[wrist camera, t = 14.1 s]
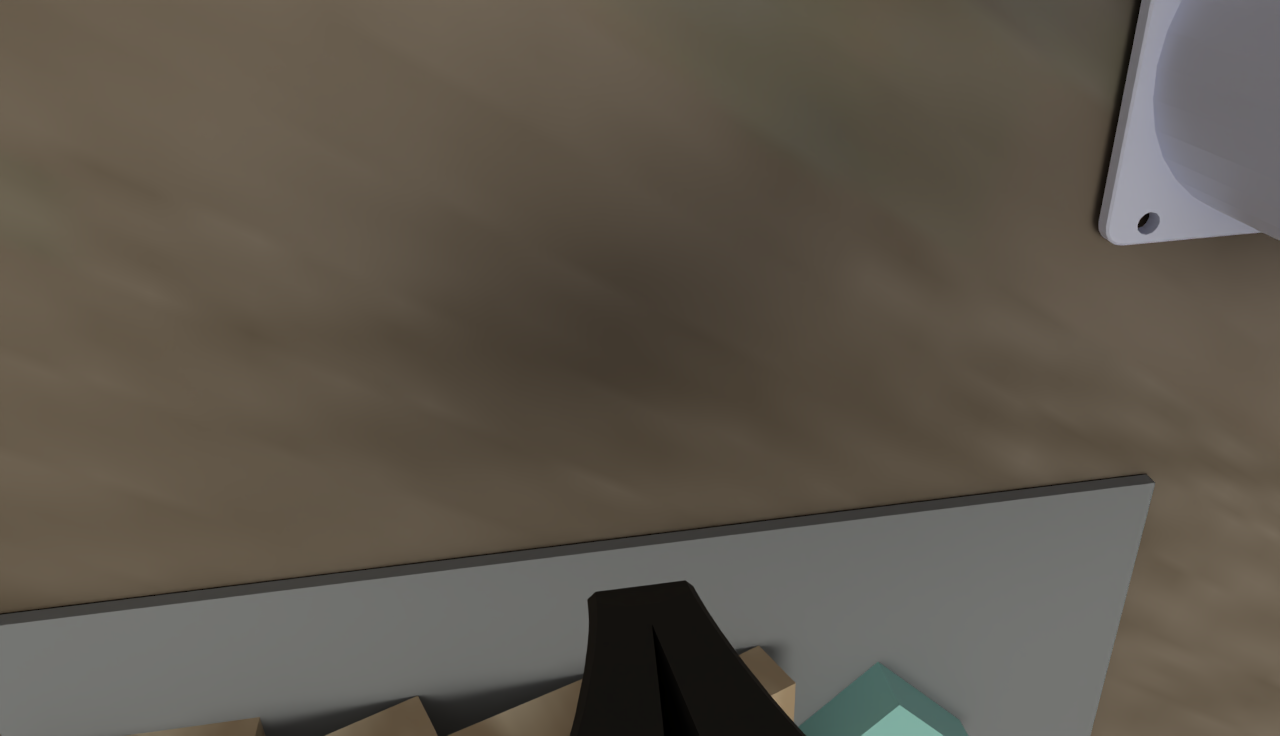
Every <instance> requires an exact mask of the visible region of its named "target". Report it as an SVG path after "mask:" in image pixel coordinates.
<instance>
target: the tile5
mask: <svg viewBox="0 0 1280 736" xmlns="http://www.w3.org/2000/svg"><path fill="white" fill-rule="evenodd" d="M127 736H265V733H264V729H263V726H262V723H261V720H260V717H257V718H250V719H242V720H235V721H228V722H221V723H213V724H206V725H199V726H192V727H184V728H177V729H170V730H163V731H156V732H148V733H141V734H134V735H127Z"/></svg>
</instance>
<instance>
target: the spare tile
mask: <svg viewBox="0 0 1280 736" xmlns="http://www.w3.org/2000/svg"><path fill="white" fill-rule="evenodd" d="M799 728H800V729H801V731H802V732H803V733H804V734H805V735H806V736H968V734H967V732H966V730H965V729H964V727H963V725H962V723H961V721H960V720H959V719H957V718H956V717H955V716H953V715H952V714H950V713H949V712H948V711H946V710H945V709H943V708H942V707H941V706H939V705H938V704H937V703H935V702H934V701H932V700H931V699H930V698H928V697H927V696H925V695H924V694H923V693H921V692H920V691H918V690H917V689H916V688H914V687H913V686H911V685H910V684H909V683H907V682H906V681H904V680H903V679H902V678H900V677H899V676H897V675H896V674H895V673H893V672H892V671H890V670H889V669H888V668H886V667H885V666H884V665H882V664H881V663H879V662H877V663H876V664H875V665H873V666H872V667H871V668H870V669H869V670H867V671H866V672H865V673H864V674H862V675H861V676H860V677H859V678H857V679H856V680H855V681H854V682H853V683H851V684H850V685H849V686H848V687H846V688H845V689H844V690H843V691H842V692H840V693H839V694H838V695H837V696H835V697H834V698H833V699H832V700H831V701H829V702H828V703H827V704H826V705H824V706H823V707H822V708H821V709H820V710H818V711H817V712H816V713H815V714H813V715H812V716H811V717H810V718H809V719H807V720H806V721H805V722H804V723H802V724H801V725H800V726H799Z"/></svg>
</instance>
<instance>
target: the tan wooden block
mask: <svg viewBox="0 0 1280 736" xmlns="http://www.w3.org/2000/svg"><path fill="white" fill-rule="evenodd" d="M581 683H582V679H581V680H579V681H576V682H574V683H571V684H569V685H567V686H564V687H562V688H559V689H557V690H555V691H552V692H550V693H548V694H545V695H543V696H540V697H538V698H536V699H533V700H531V701H529V702H526V703H524V704H521V705H519V706H517V707H514V708H512V709H510V710H507V711H505V712H502V713H500V714H498V715H495V716H493V717H491V718H488V719H486V720H483V721H481V722H479V723H476V724H474V725H471V726H469V727H467V728H464V729H462V730H460V731H457V732H455V733H452V734H450V735H448V736H570V732H571V729H572V725H573V721H574V717H575V713H576V708H577V703H578V698H579V693H580V688H581Z"/></svg>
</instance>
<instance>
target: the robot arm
mask: <svg viewBox="0 0 1280 736" xmlns="http://www.w3.org/2000/svg"><path fill="white" fill-rule="evenodd" d="M1147 213H1149V218H1148V220H1147V222H1146V223H1145V224H1144V225H1143V226H1142V227H1140V228H1138V223H1139V220H1140V218H1142V217H1143V216H1144V215H1145V214H1147ZM1099 232H1100V234H1101V236H1102V237H1104V238H1105V239H1107V240H1108V241H1110V242H1111V243H1113V244H1115V245H1122V246H1123V245H1133V244H1144V243H1155V242H1165V241H1176V240H1187V239H1197V238H1208V237H1218V236H1229V235H1240V234H1250V233H1261V232H1262V233H1264V234H1267V235H1269V236H1271V237H1273V238H1275V239H1277V240H1279V241H1280V0H1142V1H1141V6H1140V11H1139V16H1138V21H1137V27H1136V32H1135V37H1134V42H1133V47H1132V52H1131V57H1130V63H1129V68H1128V73H1127V78H1126V83H1125V88H1124V94H1123V99H1122V104H1121V109H1120V114H1119V119H1118V124H1117V130H1116V135H1115V140H1114V145H1113V150H1112V155H1111V161H1110V166H1109V171H1108V176H1107V181H1106V186H1105V191H1104V197H1103V202H1102V207H1101V212H1100V217H1099ZM587 602H588V615H589V632H588V644H587V652H586V660H585V667H584V673H583V678H582V683H581V688H580V693H579V698H578V703H577V708H576V713H575V717H574V721H573V725H572V729H571V732H570V736H806V735H805V734H804V733H803V732H802V731H801V729H800V728H799V727H798V726H797V725H796V724H795V723H794V722H793V721H792V720H791V718H790V717H789V716H788V715H787V714H786V713H785V712H784V710H783V709H782V708H781V707H780V706H779V705H778V703H777V702H776V701H775V700H774V699H773V698H772V696H771V695H770V694H769V693H768V691H767V690H766V689H765V688H764V686H763V685H762V684H761V683H760V682H759V680H758V679H757V678H756V677H755V675H754V674H753V673H752V672H751V670H750V669H749V668H748V667H747V665H746V664H745V663H744V661H743V660H742V659H741V657H740V656H739V655H738V653H737V652H736V651H735V649H734V648H733V647H732V645H731V644H730V642H729V641H728V640H727V638H726V637H725V635H724V634H723V633H722V631H721V630H720V628H719V627H718V625H717V624H716V622H715V621H714V619H713V618H712V616H711V615H710V613H709V612H708V610H707V609H706V607H705V605H704V604H703V602H702V600H701V599H700V597H699V595H698V594H697V592H696V590H695V588H694V586H692V585H691V584H690V583H688V582H687V581H686V580H683V581H675V582H668V583H660V584H652V585H644V586H637V587H629V588H621V589H613V590H605V591H598V592H595V593H594V594H593V595H591V596H590V597H589V598H588V599H587Z"/></svg>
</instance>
